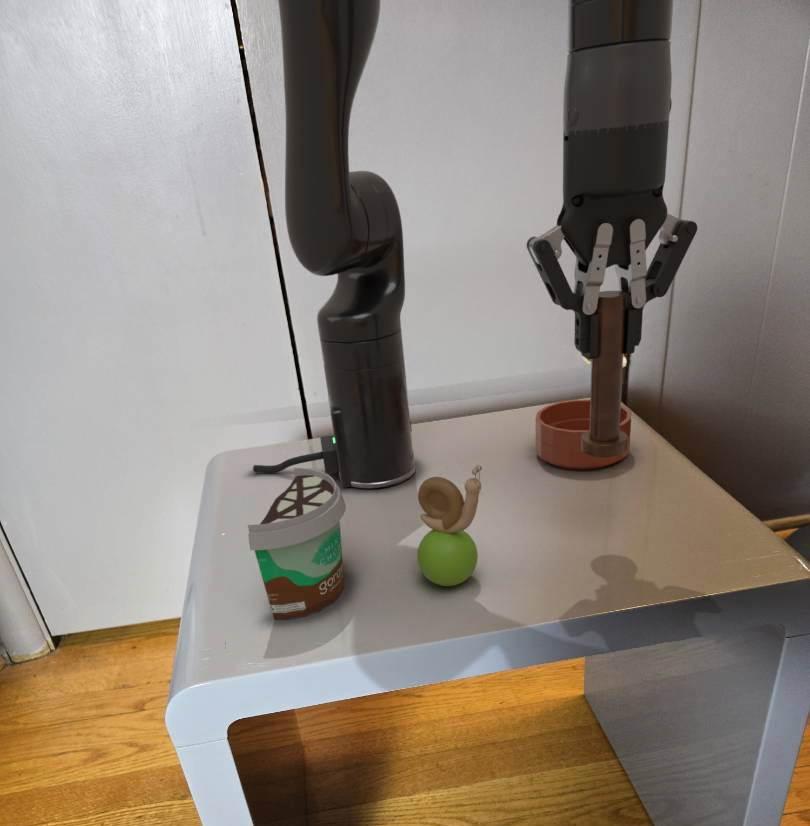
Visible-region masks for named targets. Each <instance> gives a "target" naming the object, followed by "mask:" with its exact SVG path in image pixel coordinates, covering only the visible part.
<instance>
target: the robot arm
mask: <svg viewBox="0 0 810 826" xmlns="http://www.w3.org/2000/svg"><path fill="white" fill-rule="evenodd" d="M277 6H278V15H279V16H278V17H279V25H280V36H281V55H282V73H283V74H282V75H283V90H284V91H283V92H284V110H285V111H284V113H285V115H284V117H285V152H284V153H285V154H284V158H285V160H284V163H285V164H284V212H285V224H286V225H285V226H286V231H287V235H288V239H289V244H290V247H291V249H292V251H293V253H294V255H295V258H296V259H297V261H298V263H300V265H302V267H303V268H304V269H305V270H306V271H308V272H309V273H310V274H312V275H314V276H319V277H331V276H335V275H337V279H336V284H335V287H334V289H333V291H332V293H331V295H330V296H329V298H328V299H327V300H326V301H325V302H324V304H323V305H321V307H320V308H319V309H318V311H317V314H316V324H317V332H318V337H319V343H320V349H321V350H320V351H321V355H322V363H323V371H324V377H325V384H326V390H327V397H328V398H327V400H328V401H327V402H328V406H329V413H330V419H331V420H330V421H331V425H332V426H331V427H332V434H331V435H330V434H329V435H324V436H320V438H319V439H320V446H321V451H318V452H314V453H308V454H303V455H298V456H295V457H294V456H293V457H291V458H288V459H286V460H284V461H283V462H281V463H279V464H275V465H264V464H263V465H262V464H254V465H253V467H252V469H253V473H265V474H273V473H279V472H282V471H284V470H286V469H288V468H290V467H292V466H296V465H300V464H303V463H309V462H314V461H319V460H323V466H324V473H325V474H327V475H329V474H334V473H338V477H339V480H340V485H341V488H343V489H344V488H356V489H357V488H358V489H379V488H385V487H390V486H391V487H392V486H394V485H397V484H400V483H402V482H405V481H406V480H408V479H410V478H411V477H412V476H413V475H414V474H415V472H416V462H415V457H414V454H415V453H414V449H413V448H414V447H413V437H412V432H413V431H412V421H411V417H410V416H411V415H410V405H409V395H408V384H407V375H406V364H405V352H404V344H403V343H404V342H403V332H402V331H403V330H402V322H401V321H402V320H401V314H402V310H403V306H404V304H405V299H406V298H405V297H406V276H405V275H406V274H405V254H404V253H405V251H404V250H405V249H404V233H403V223H402V215H401V211H400V207H399V203H398V200H397V198H396V195H395V193H394V191H393V189H392V188H391V186H390V184H389V183H388V182H387V180H385V179H384V178H383V177H382V176H381V175H379V174H377V173H375V172H373V171H370V170H369V171H368V170H355V171H350V160H349V159H350V157H349V138H350V137H349V135H350V122H351V116H352V115H351V114H352V110H353V105H354V101H355V98H356V95H357V92H358V88H359V85H360V82H361V79H362V77H363V74H364V71H365V68H366V65H367V62H368V60H369V57H370V53H371V51H372V47H373V44H374V41H375V37H376V33H377V29H378V26H379V20H380V13H381V0H277ZM567 8H568V9H567V53H568V54H567V55H566V69H565V77H564V83H563V84H564V85H563V99H562V101H563V106H562V107H563V109H562V110H563V112H562V113H563V115H562V116H563V117H562V123H563V124H562V207H561V210H560V212H559V214H558V217H557V218H556V225H554V226H553V227H552V228H551V229H549V230H547V231H546V232H545V233H543V234H541V235H539V236H531V237H529V238H528V239H527V241H526V249H527V251H528V254H529V255H530V257H531V260H532V262H533V264H534V266H535V268H536V269H537V273H538V275H539V277H540V278H541V281H542V282H543V284H544V286H545V289H546V291H547V293H548V295H549V298H550V300H551V302H553V304H555V305H557V306H560V307H561V308H562V309H564V310H566V311H573V313H574V346H575V349H576V350H577V351H578V352H580V354H581V356H582V357H584V358H585V359H586V360H589V361H590V360H591V359H596V358H597V356H598V334H599V314H597V313H595V311H596V309H597V304H598V297H599V292H601V291H600V290H601V286H602V285H603V284H604V281H605V274H606V269H607V268H610V267H613V266H614V269H615V270H614V271H615V274H616V277H617V278H618V289H619V290H618V291H622V292H625V293H626V306H625V327H624V348H623V355H631V354H635V350H636V347H638V346H640V343H641V341H642V331H643V328H642V327H643V314H644V307H645V305H646V304H647V303H649V302H650V301H652V300H655V299H656V298H662V297H664V296H665V295H667V293H668V291H669V289H670V287H671V285H672V283H673V281H674V279H675V278H676V277H675V276H676V275H677V273H678V271H679V269H680V268H681V264H683V263H682V262H683V260H684V258H685V257H686V254H687V252H688V250H689V248H690V246H691V245H692V242H693V240H694V238H695V236H696V234H697V232H698V224H697V222H695V221H693V220H688V219H682V218H679V217H676V216H674V215H672V214H670V213H668V206H667V204H666V202H665V199H664V194H663V193H664V192H663V191H664V186H665V182H666V173H667V160H668V159H667V156H668V142H669V127H670V114H671V110H672V106H673V105H672V102H673V101H672V96H671V95H672V82H673V81H672V79H673V77H672V59H671V58H672V56H671V54H672V53H671V41H670V40H671V39H672V27H673V24H672V23H673V12H674V11H673V10H674V0H567ZM658 233H659V234H658ZM657 234H658V242H659V245H658V246H657V249H656V252H655V254H654V256H653V258H652V260H651V262H650V263H649V266H648V265H647V252H646V251H647V249H648V248H649V246H650V245H651V243H652V242H653V241H654V239H655V237H656V236H657ZM563 241H564V242H565V243H566V244H567V246H568V247H569V249H570V250H571V252H572V253H573V254H574V256H575V264H574V265H575V266H574V271H573V277H574V281H575V282H574V287H573V290H572V288H571V285H570V284H569V281H568V279H567V277H566V275H565V273H564V271H563V269H562V267H561V264H560V261H559V259H560V258H561V257H562V253H563V249H562V242H563ZM647 266H648V268H647Z"/></svg>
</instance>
